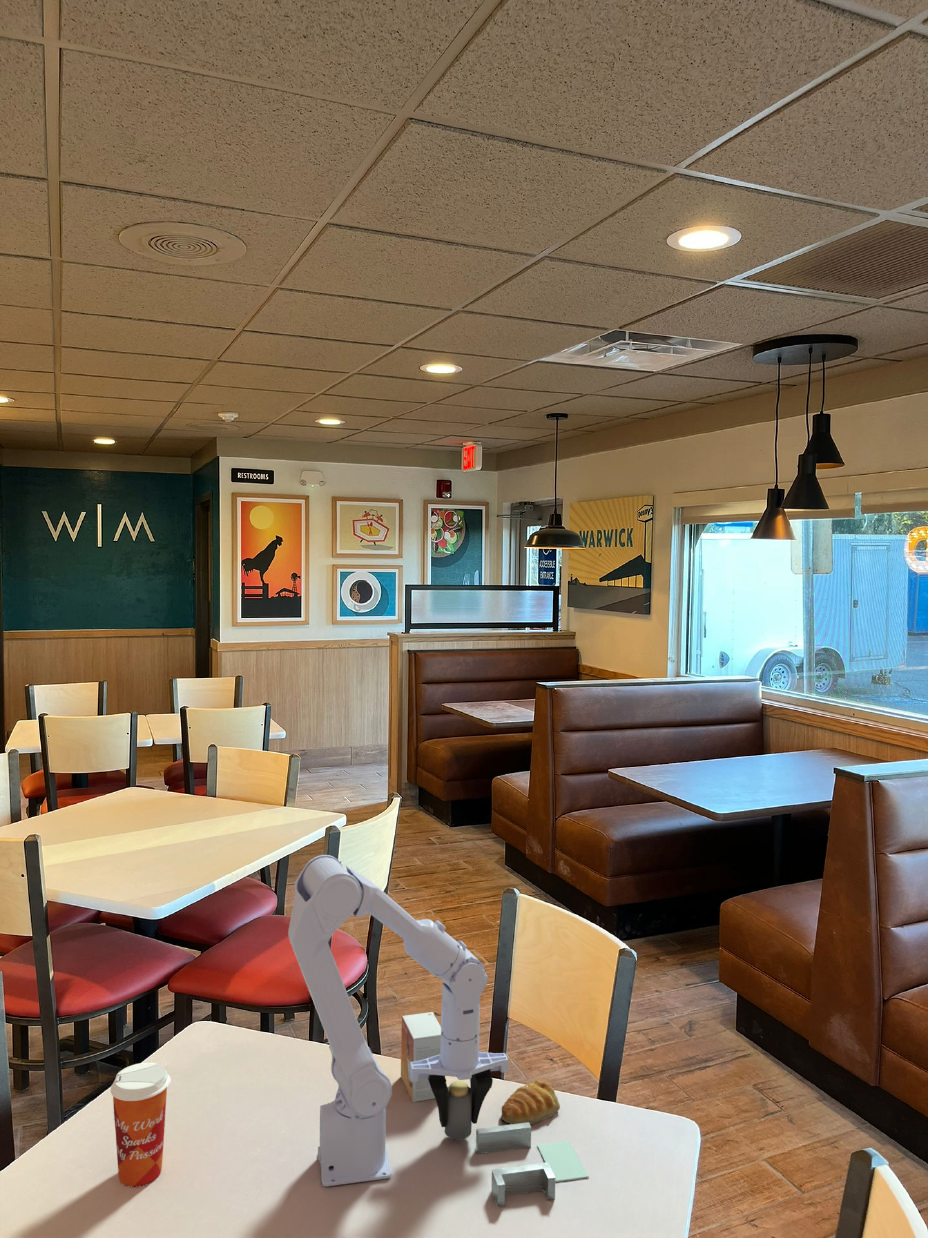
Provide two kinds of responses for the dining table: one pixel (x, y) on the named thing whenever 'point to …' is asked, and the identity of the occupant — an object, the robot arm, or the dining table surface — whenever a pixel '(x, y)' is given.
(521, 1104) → the pastry
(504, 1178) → the metal brackets
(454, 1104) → the grey canister
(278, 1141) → the dining table surface
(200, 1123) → the dining table surface
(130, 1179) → the paper cup
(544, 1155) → the mat
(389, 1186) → the dining table surface
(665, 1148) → the dining table surface
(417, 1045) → the small box
